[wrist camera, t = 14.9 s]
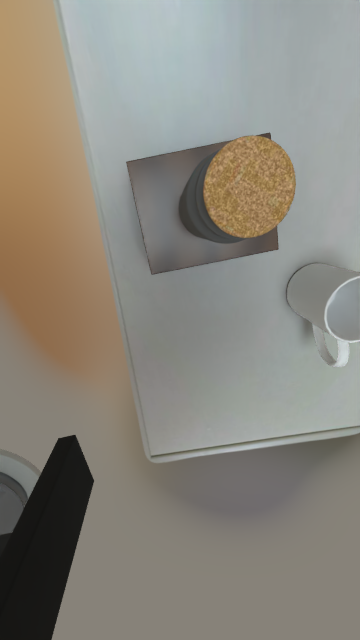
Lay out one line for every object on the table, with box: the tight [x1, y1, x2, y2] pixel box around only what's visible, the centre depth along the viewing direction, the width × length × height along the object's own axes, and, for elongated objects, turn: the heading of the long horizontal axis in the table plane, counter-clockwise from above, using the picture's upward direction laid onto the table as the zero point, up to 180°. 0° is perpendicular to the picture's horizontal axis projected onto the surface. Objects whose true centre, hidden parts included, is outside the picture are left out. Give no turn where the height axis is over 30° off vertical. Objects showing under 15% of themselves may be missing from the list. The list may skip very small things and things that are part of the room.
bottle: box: [179, 136, 296, 244], centre depth 21 cm, size 6×6×15 cm
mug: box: [287, 263, 360, 367], centre depth 36 cm, size 12×8×10 cm, turn 179°
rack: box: [126, 133, 278, 274], centre depth 32 cm, size 14×11×9 cm
